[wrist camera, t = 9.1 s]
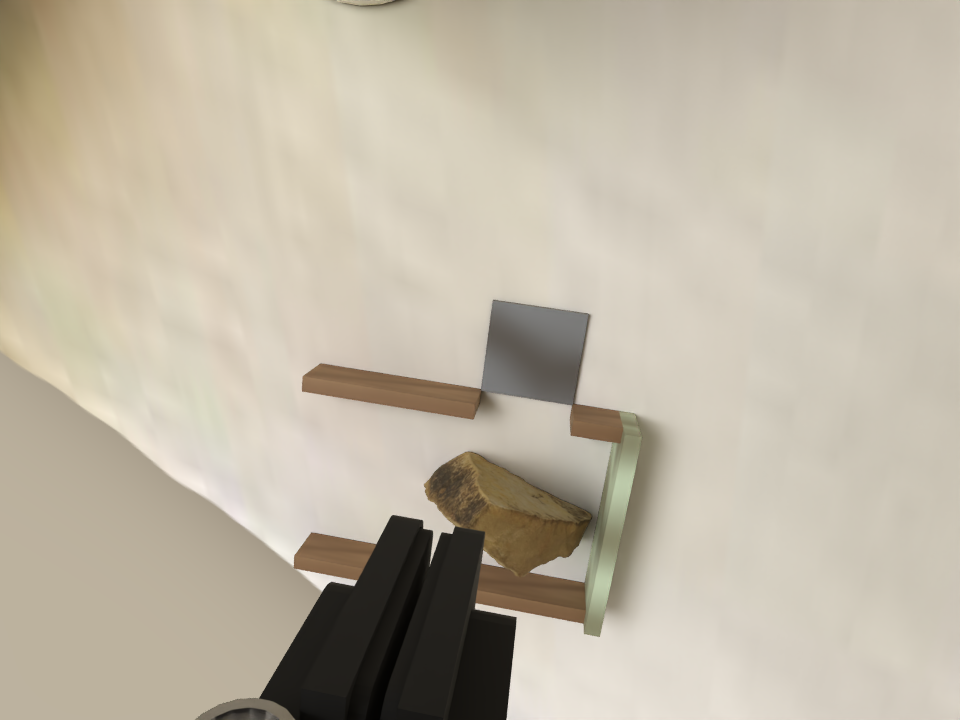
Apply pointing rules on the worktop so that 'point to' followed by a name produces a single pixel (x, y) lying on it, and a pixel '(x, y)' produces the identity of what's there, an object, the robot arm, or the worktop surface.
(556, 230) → the worktop surface
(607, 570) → the box
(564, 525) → the rock
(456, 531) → the robot arm
